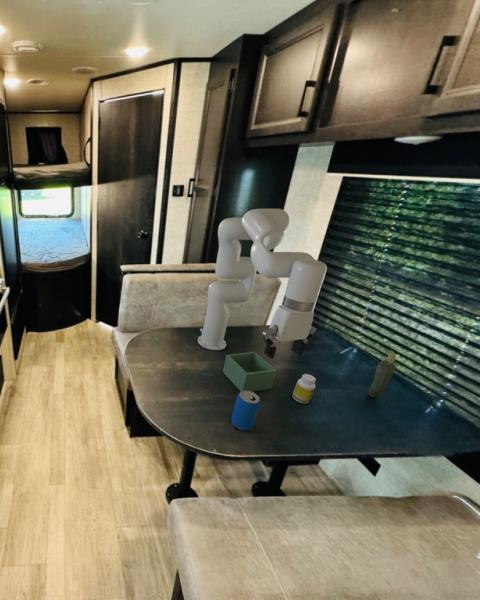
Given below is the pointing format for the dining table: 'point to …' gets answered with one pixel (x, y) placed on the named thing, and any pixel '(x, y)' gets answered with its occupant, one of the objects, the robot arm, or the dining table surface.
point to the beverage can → (245, 410)
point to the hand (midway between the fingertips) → (282, 354)
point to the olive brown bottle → (382, 375)
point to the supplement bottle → (304, 389)
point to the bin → (249, 371)
